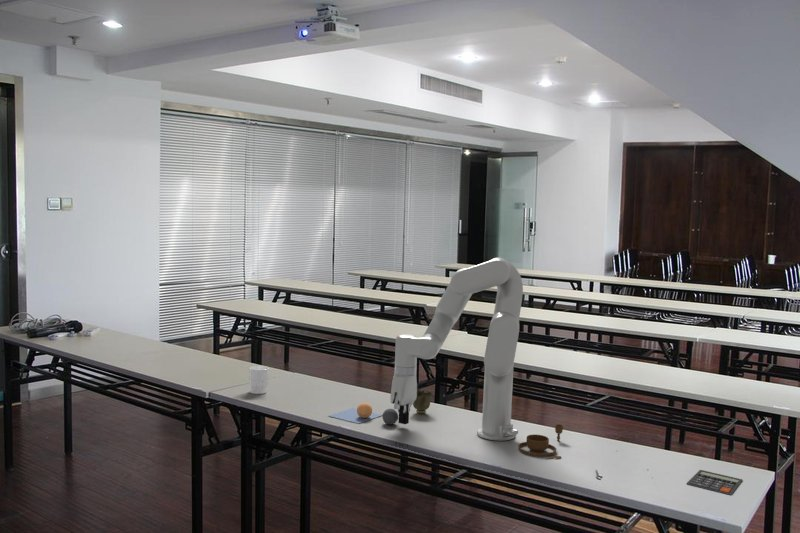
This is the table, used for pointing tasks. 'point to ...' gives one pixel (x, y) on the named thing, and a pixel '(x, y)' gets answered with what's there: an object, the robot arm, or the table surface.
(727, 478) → the calculator
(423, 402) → the brown round vessel
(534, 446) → the place setting
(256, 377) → the white cup
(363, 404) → the orange ball
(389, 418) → the gray ball
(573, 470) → the table surface
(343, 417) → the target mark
